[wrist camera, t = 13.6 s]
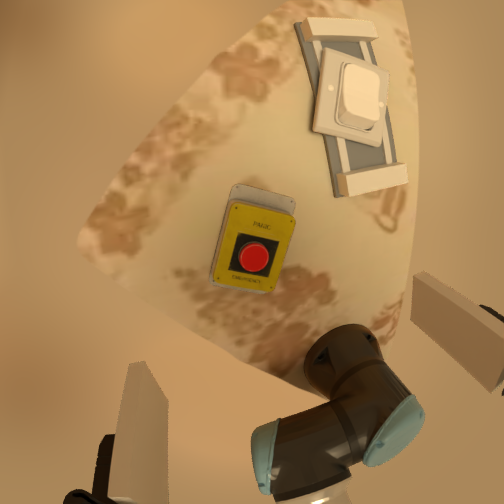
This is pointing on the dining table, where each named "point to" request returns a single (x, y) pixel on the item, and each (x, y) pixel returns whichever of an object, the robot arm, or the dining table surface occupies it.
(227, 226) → the emergency button
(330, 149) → the rail board
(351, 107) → the light switch
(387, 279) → the dining table surface
